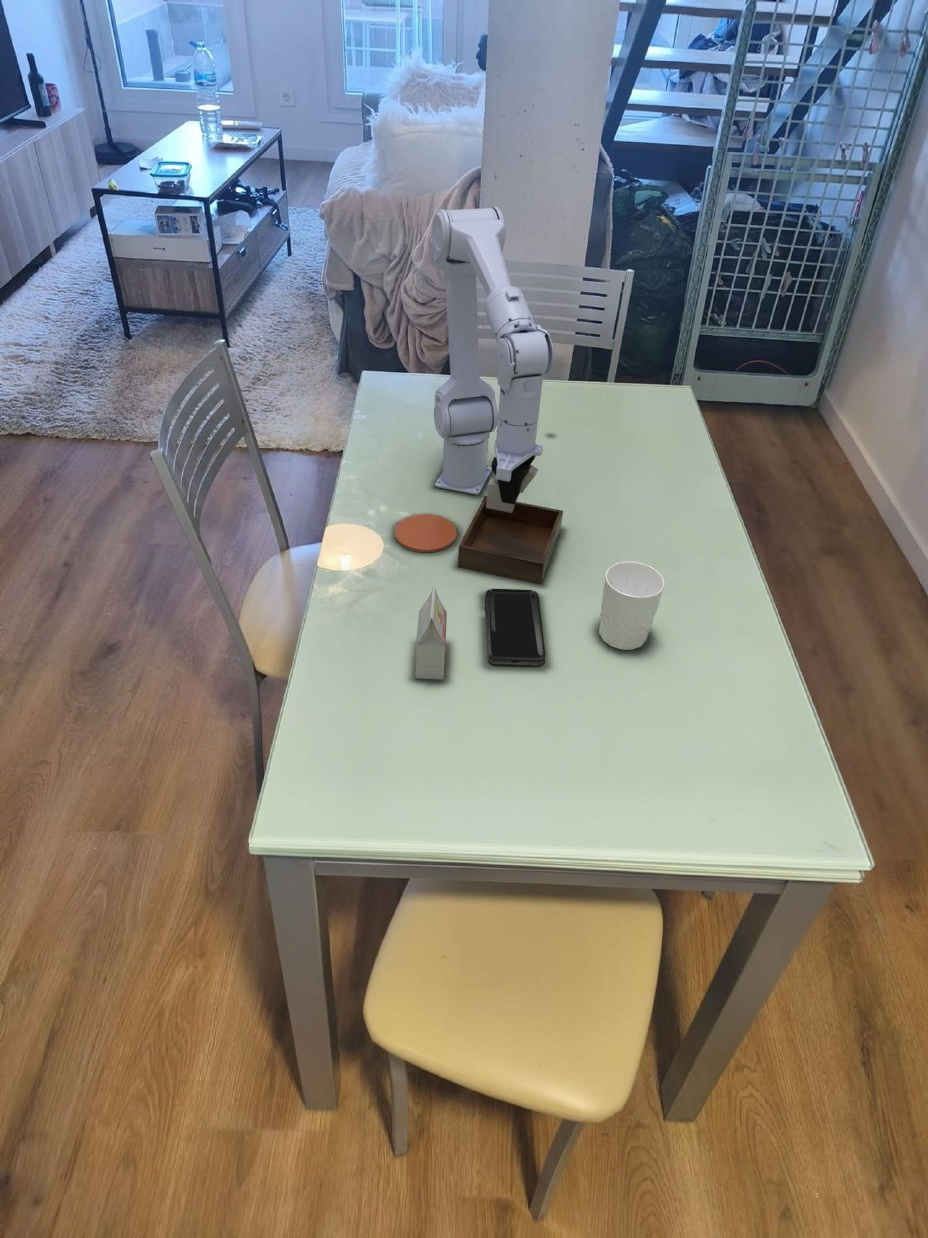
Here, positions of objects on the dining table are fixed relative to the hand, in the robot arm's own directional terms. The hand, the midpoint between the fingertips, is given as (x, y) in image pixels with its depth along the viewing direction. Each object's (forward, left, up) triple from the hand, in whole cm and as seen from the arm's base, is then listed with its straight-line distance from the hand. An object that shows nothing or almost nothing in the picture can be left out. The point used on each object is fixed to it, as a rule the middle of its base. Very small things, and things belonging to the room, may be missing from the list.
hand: (510, 498), depth 125 cm
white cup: (+15, +21, -9) cm, 27 cm away
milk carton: (+29, -3, -9) cm, 31 cm away
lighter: (0, 0, -2) cm, 2 cm away
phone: (+19, +6, -9) cm, 22 cm away
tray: (0, +1, -9) cm, 9 cm away
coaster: (+1, -13, -9) cm, 16 cm away
